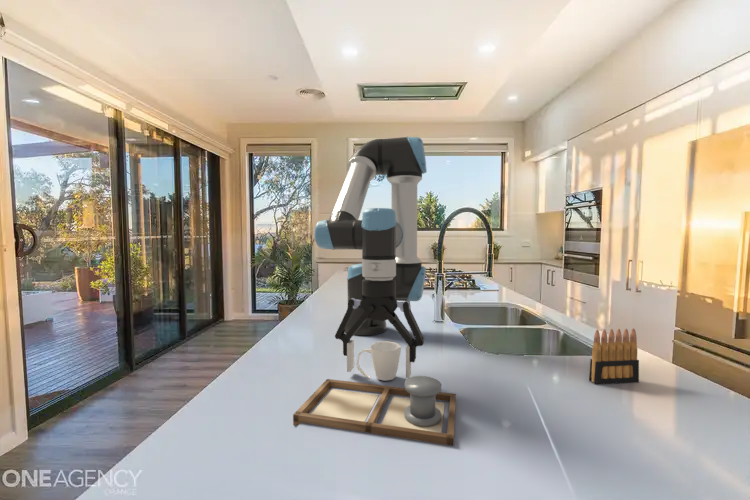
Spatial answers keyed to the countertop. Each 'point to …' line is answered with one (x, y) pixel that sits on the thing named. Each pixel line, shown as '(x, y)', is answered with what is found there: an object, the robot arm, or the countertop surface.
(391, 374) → the cup
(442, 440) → the slot tray
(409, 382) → the doorknob
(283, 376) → the countertop surface
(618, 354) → the ammunition clip
